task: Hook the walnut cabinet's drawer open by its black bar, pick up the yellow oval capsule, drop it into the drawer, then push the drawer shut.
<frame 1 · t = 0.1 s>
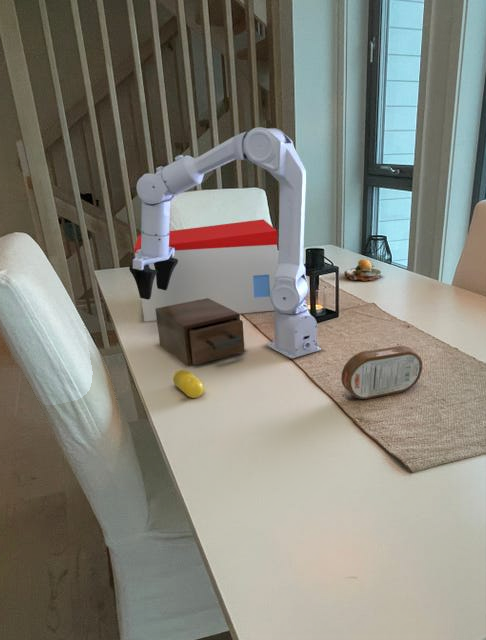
hand: (153, 293, 114), 11 cm above the table, tool pointing down, fingers open, 7 cm apart
cabinet: (200, 348, 112), on the table
tin: (382, 394, 91), on the table
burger: (362, 277, 168), on the table
drawer: (208, 336, 107), point 4 cm above the table, slide at 1.0 cm
red-topped white box: (211, 305, 142), on the table
yellow oval capsule: (189, 391, 93), on the table
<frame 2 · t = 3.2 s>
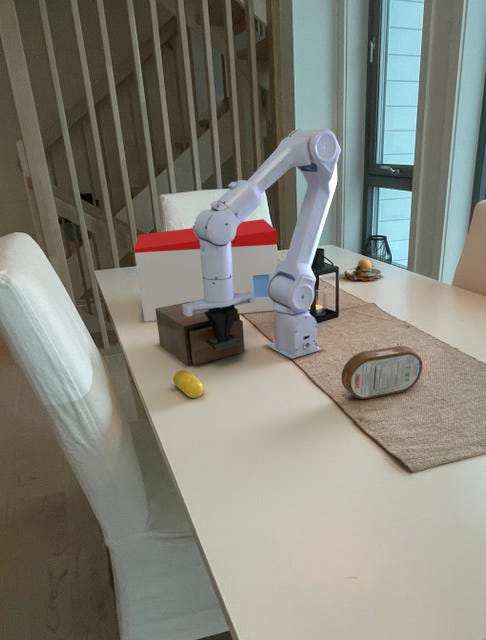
hand: (222, 343, 102), 5 cm above the table, tool pointing down, fingers closed, pressing on drawer
drawer: (208, 336, 107), point 4 cm above the table, slide at 1.0 cm, touching gripper
everything else where it was.
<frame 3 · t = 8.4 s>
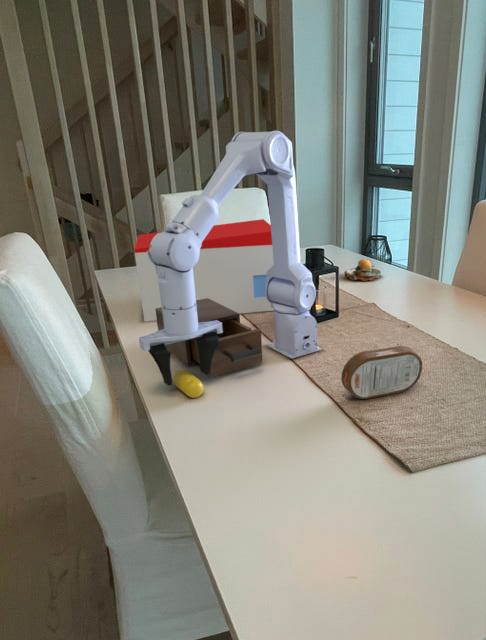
hand: (187, 378, 91), 3 cm above the table, tool pointing down, fingers open, 7 cm apart
drawer: (225, 346, 101), point 4 cm above the table, slide at 8.1 cm, touching gripper
everything else where it was.
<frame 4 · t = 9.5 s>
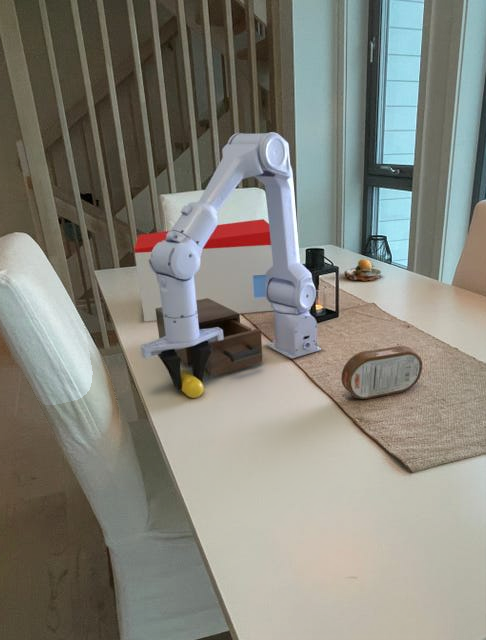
hand: (188, 384, 92), 1 cm above the table, tool pointing down, fingers closed on yellow oval capsule, 3 cm apart
drawer: (225, 346, 101), point 4 cm above the table, slide at 8.1 cm
yellow oval capsule: (189, 391, 93), on the table, touching gripper
everything else where it was.
when the fingers open (5 cm above the table, at t = 15.0 s): yellow oval capsule drops 3 cm, resting on drawer.
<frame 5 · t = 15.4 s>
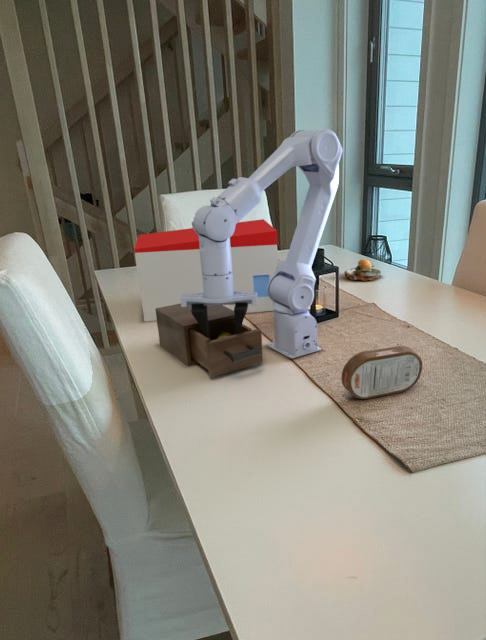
hand: (222, 339, 102), 5 cm above the table, tool pointing down, fingers open, 5 cm apart
drawer: (225, 346, 101), point 4 cm above the table, slide at 8.2 cm, touching yellow oval capsule
yellow oval capsule: (222, 352, 104), point 2 cm above the table, tilted 17°, touching drawer
everything else where it was.
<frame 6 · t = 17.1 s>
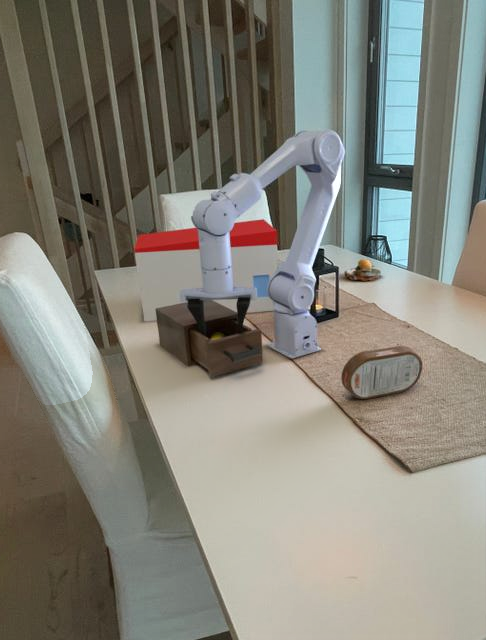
hand: (222, 334, 101), 6 cm above the table, tool pointing down, fingers open, 7 cm apart
drawer: (225, 346, 101), point 4 cm above the table, slide at 8.2 cm, touching yellow oval capsule, gripper
yellow oval capsule: (221, 351, 104), point 2 cm above the table, tilted 31°, touching drawer
everything else where it was.
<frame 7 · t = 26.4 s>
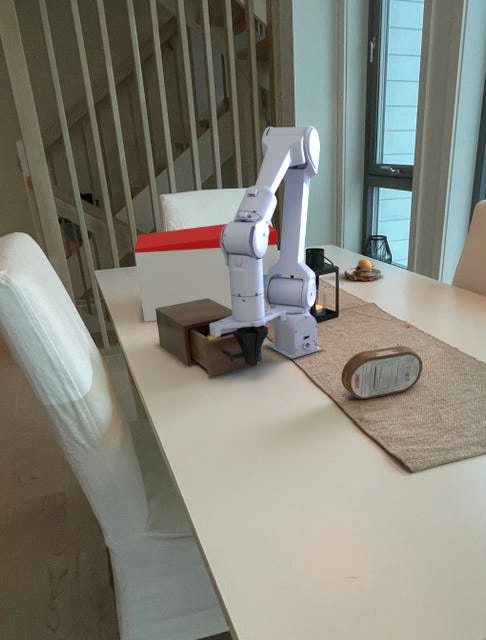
hand: (251, 364, 94), 4 cm above the table, tool pointing down, fingers closed, pressing on drawer
drawer: (224, 345, 102), point 4 cm above the table, slide at 7.8 cm, touching yellow oval capsule, gripper
yellow oval capsule: (219, 348, 104), point 3 cm above the table, tilted 59°, touching drawer
everything else where it was.
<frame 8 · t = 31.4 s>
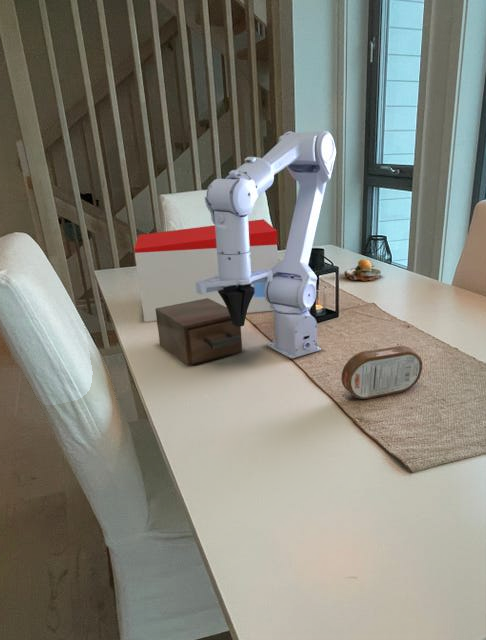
hand: (238, 325, 94), 10 cm above the table, tool pointing down, fingers closed
drawer: (206, 334, 107), point 4 cm above the table, slide at 0.0 cm, touching yellow oval capsule
yellow oval capsule: (202, 337, 110), point 3 cm above the table, tilted 63°, touching drawer
everything else where it was.
at the end: drawer pulled out 8.4 cm at the most during the clip, back to where it started at the end; yellow oval capsule inside the target area in the cabinet (0.2 cm from its centre), point 2.9 cm above the cabinet's base; drawer slide at 0.0 cm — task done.
